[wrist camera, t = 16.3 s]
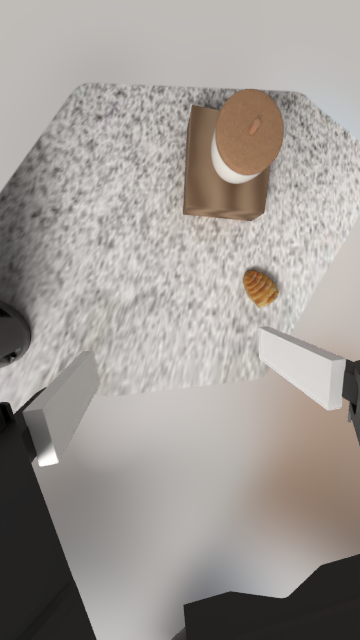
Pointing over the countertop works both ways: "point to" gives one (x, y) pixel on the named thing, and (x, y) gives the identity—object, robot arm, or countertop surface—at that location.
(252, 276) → the pastry
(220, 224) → the countertop surface
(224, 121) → the lidded jar
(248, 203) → the walnut box
